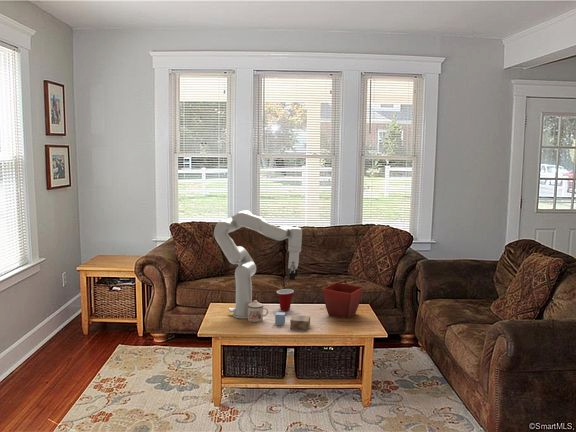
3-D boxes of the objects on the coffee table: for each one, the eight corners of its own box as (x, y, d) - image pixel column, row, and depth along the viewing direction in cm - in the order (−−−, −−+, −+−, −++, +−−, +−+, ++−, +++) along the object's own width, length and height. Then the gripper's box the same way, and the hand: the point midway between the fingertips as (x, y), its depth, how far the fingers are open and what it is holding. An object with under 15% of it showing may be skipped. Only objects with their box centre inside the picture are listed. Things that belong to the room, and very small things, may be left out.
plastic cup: (275, 307, 342) (275, 288, 341) (292, 306, 343) (292, 288, 342) (276, 311, 331) (277, 292, 330) (294, 311, 333) (294, 292, 331)
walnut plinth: (290, 328, 300) (290, 320, 299) (292, 323, 310) (292, 314, 309) (307, 330, 298) (308, 321, 298) (309, 324, 308) (310, 316, 308)
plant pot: (349, 321, 316) (350, 293, 314) (320, 315, 326) (321, 288, 324) (362, 313, 332) (363, 287, 330) (335, 308, 342) (335, 282, 340)
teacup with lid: (247, 322, 310) (247, 302, 309) (248, 317, 319) (248, 298, 318) (267, 322, 310) (268, 302, 309) (268, 317, 319) (268, 298, 318)
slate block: (275, 324, 307) (275, 314, 306) (276, 322, 312) (276, 312, 311) (283, 325, 306) (284, 315, 305) (285, 322, 311) (285, 312, 310)
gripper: (290, 245, 319) (288, 274, 321) (286, 250, 302) (284, 280, 304) (302, 246, 318) (301, 275, 320) (299, 251, 301) (297, 281, 303)
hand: (293, 277), depth 312 cm, fingers open, 9 cm apart
